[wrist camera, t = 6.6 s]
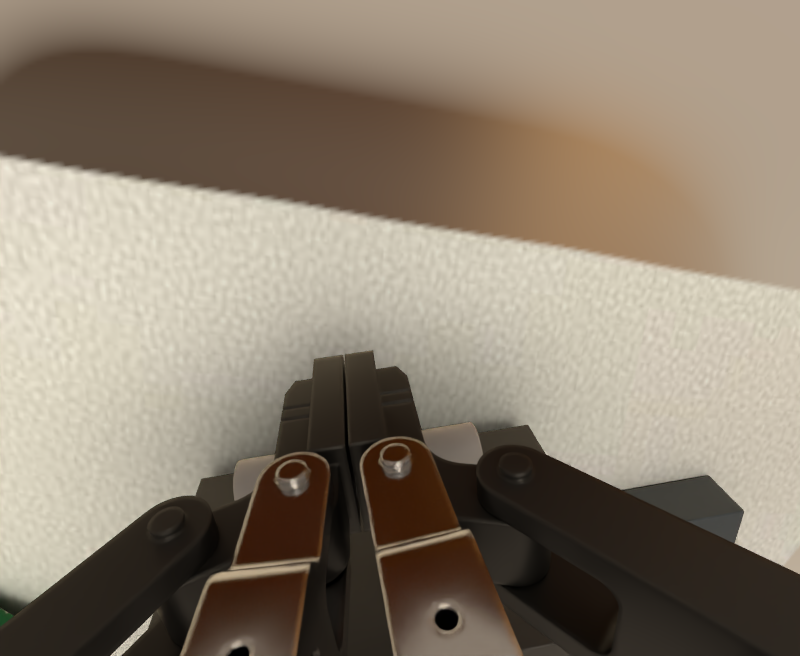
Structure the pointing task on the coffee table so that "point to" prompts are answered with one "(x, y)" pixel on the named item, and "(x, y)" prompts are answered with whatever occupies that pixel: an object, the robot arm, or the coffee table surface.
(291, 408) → the robot arm
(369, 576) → the dark box with handle
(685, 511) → the control block
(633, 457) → the coffee table surface
